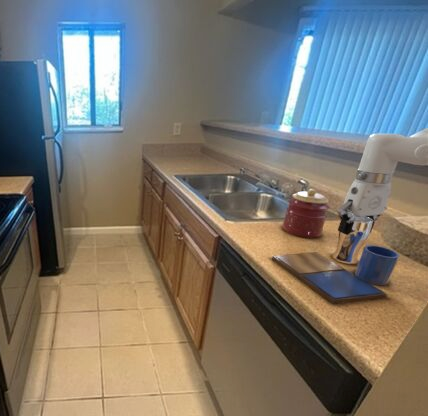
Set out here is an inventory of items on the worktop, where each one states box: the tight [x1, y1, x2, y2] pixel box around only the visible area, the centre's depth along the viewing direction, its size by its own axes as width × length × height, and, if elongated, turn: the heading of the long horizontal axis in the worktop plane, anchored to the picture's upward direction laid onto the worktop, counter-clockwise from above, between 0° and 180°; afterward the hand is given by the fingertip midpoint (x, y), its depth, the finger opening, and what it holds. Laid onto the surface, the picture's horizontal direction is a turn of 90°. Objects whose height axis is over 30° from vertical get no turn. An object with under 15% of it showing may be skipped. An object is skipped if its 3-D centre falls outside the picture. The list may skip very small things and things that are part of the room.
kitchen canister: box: [282, 188, 331, 239], centre depth 107 cm, size 13×13×18 cm
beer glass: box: [332, 214, 373, 265], centre depth 87 cm, size 7×7×15 cm
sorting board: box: [271, 251, 388, 305], centre depth 81 cm, size 16×22×1 cm
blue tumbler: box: [354, 244, 400, 286], centre depth 79 cm, size 7×7×9 cm
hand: (354, 231), depth 86 cm, fingers closed on beer glass, 7 cm apart
